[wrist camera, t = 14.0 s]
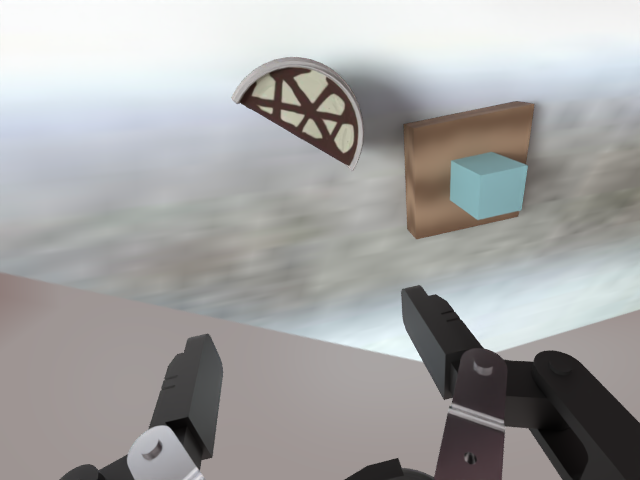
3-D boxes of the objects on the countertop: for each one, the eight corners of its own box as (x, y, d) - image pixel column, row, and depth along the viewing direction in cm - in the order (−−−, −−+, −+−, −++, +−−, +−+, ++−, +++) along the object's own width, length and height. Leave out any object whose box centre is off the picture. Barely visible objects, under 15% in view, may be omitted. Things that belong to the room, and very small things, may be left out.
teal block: (451, 160, 38) (480, 175, 33) (491, 151, 39) (527, 165, 33) (450, 200, 41) (477, 220, 35) (488, 191, 41) (521, 210, 36)
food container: (364, 100, 37) (397, 111, 28) (335, 149, 39) (357, 174, 30) (264, 31, 32) (265, 19, 24) (237, 91, 34) (229, 99, 26)
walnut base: (403, 124, 39) (413, 128, 36) (516, 101, 39) (534, 103, 37) (407, 229, 45) (416, 239, 43) (503, 207, 46) (518, 216, 43)
